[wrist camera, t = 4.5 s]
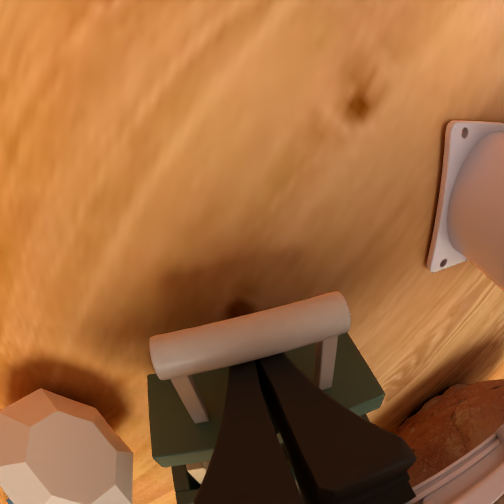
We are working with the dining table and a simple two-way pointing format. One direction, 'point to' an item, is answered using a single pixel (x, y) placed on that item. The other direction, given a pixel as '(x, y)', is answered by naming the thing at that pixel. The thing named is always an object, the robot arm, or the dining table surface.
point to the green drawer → (240, 351)
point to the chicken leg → (61, 453)
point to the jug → (452, 427)
